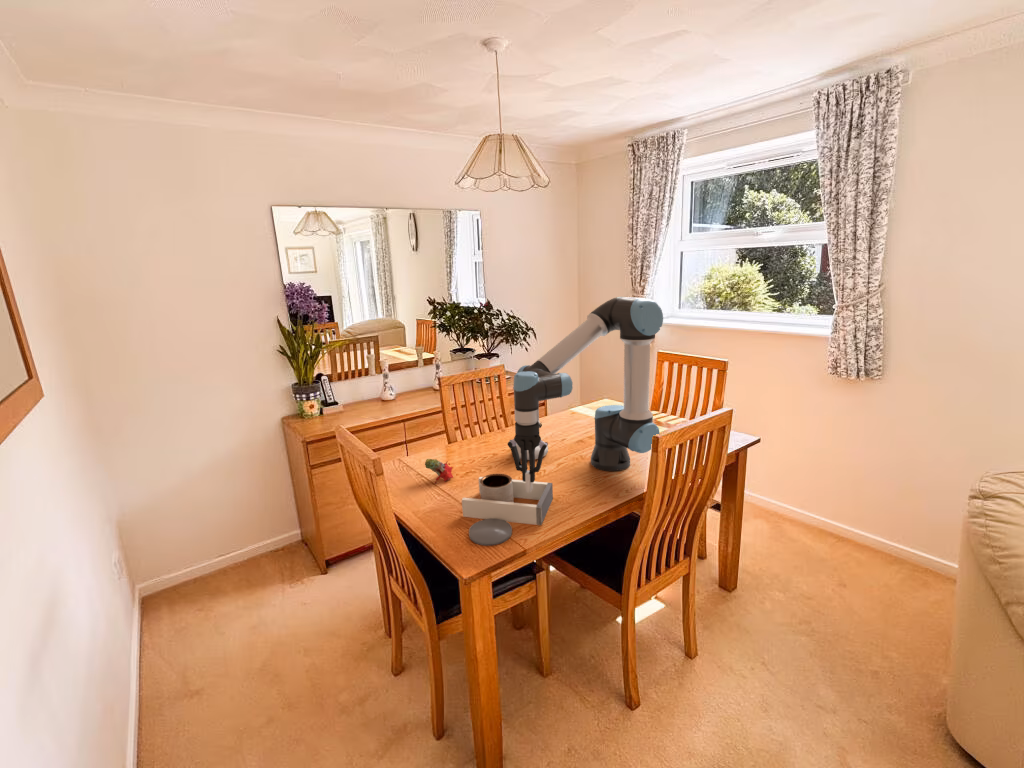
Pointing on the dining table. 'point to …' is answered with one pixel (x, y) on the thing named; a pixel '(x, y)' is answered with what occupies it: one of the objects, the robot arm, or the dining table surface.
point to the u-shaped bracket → (513, 504)
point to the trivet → (490, 532)
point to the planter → (497, 488)
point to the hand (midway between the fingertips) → (529, 490)
